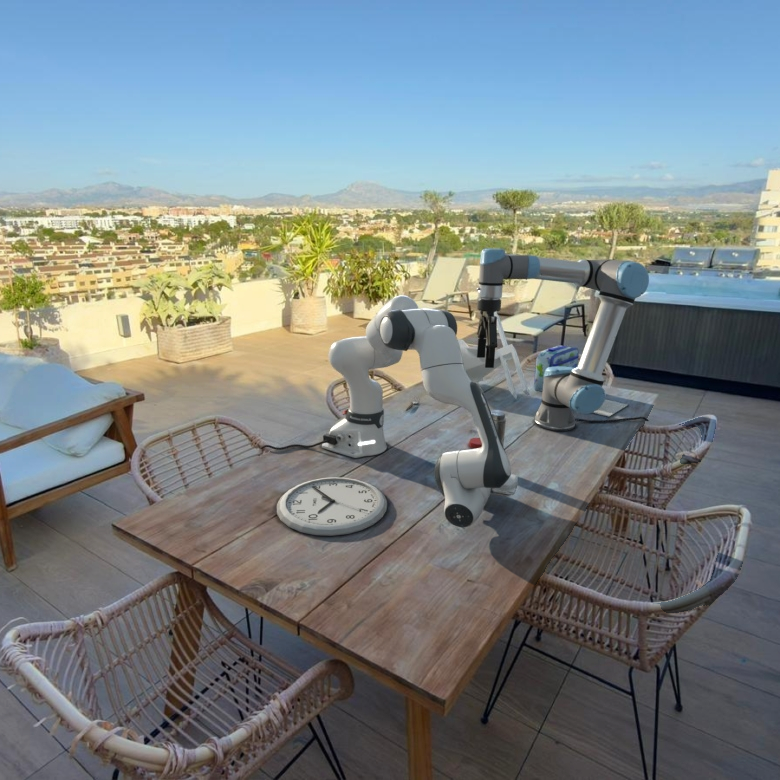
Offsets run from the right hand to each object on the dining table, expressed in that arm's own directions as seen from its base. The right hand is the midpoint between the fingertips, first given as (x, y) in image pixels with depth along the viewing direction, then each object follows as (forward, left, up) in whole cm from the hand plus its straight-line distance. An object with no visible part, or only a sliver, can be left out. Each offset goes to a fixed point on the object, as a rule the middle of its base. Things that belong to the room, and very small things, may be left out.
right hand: (484, 362), depth 174 cm
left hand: (0, +31, -24) cm, 39 cm away
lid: (0, 0, -29) cm, 29 cm away
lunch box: (-38, -72, -30) cm, 87 cm away
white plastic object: (-3, -63, -30) cm, 70 cm away
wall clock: (+42, +48, -30) cm, 70 cm away
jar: (-4, +19, -30) cm, 36 cm away
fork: (+26, -38, -30) cm, 56 cm away
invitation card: (-55, -52, -30) cm, 81 cm away
